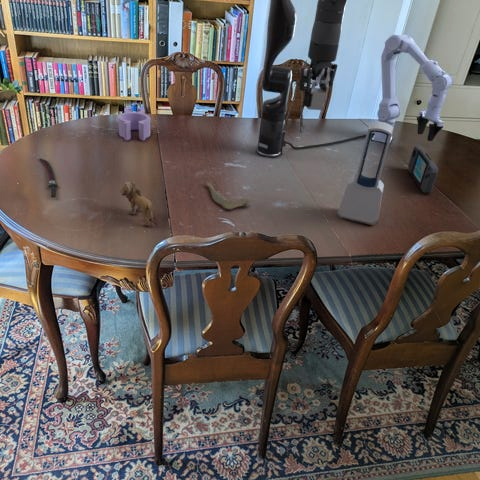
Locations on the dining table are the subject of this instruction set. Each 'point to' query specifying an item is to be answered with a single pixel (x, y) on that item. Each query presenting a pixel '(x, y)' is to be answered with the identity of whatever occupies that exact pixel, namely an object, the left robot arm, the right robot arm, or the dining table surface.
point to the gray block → (317, 99)
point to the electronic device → (366, 184)
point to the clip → (134, 123)
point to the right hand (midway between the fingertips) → (424, 137)
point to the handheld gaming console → (423, 169)
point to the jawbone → (223, 201)
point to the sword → (52, 181)
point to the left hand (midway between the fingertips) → (313, 104)
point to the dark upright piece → (295, 69)
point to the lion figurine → (137, 201)
